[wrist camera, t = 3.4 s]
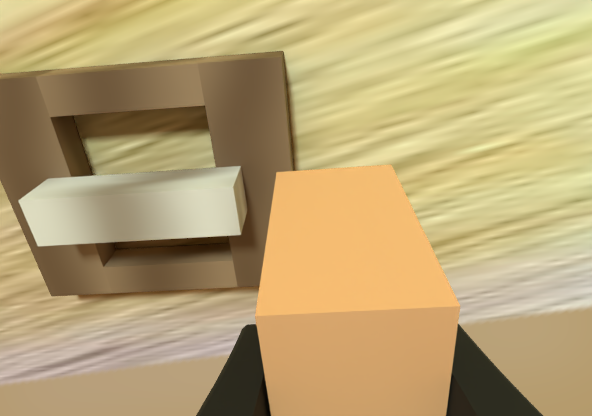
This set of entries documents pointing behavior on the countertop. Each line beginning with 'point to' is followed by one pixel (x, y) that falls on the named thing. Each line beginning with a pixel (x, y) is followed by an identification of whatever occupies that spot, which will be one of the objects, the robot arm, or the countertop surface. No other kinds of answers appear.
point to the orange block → (352, 300)
